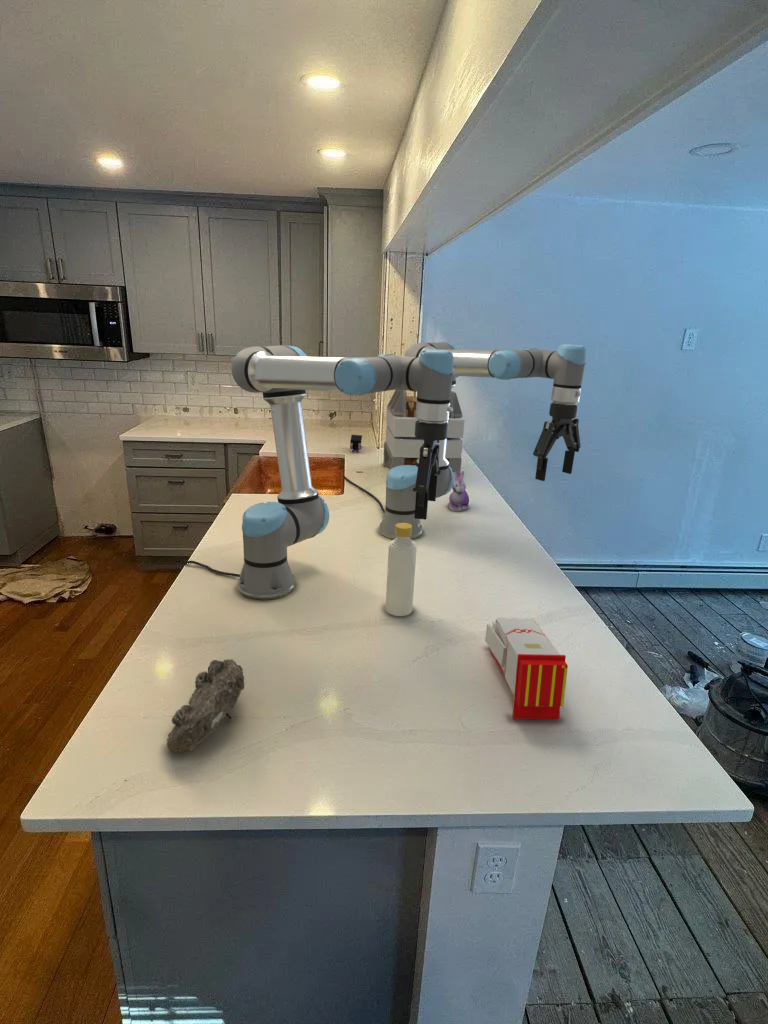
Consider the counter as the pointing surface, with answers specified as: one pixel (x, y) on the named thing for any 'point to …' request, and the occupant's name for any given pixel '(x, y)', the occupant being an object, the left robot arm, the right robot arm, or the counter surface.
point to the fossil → (206, 705)
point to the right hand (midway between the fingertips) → (553, 476)
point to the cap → (403, 530)
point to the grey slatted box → (402, 432)
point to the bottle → (400, 576)
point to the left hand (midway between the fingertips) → (425, 509)
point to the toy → (529, 667)
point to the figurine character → (355, 442)
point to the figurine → (458, 494)
